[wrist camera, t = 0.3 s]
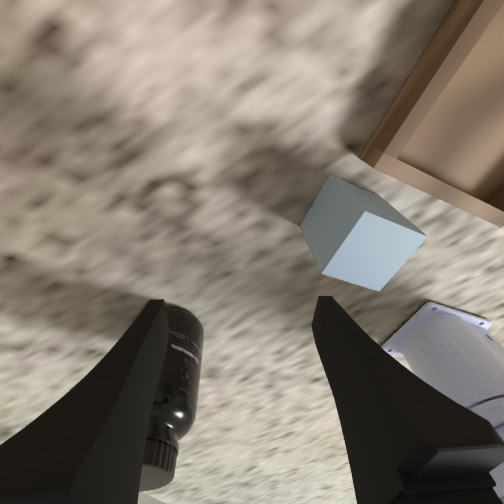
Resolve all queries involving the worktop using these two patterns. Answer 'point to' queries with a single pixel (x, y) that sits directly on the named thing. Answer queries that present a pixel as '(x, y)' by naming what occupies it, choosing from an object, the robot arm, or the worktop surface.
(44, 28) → the worktop surface
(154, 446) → the supplement bottle
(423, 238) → the block
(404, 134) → the tray
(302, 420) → the worktop surface
